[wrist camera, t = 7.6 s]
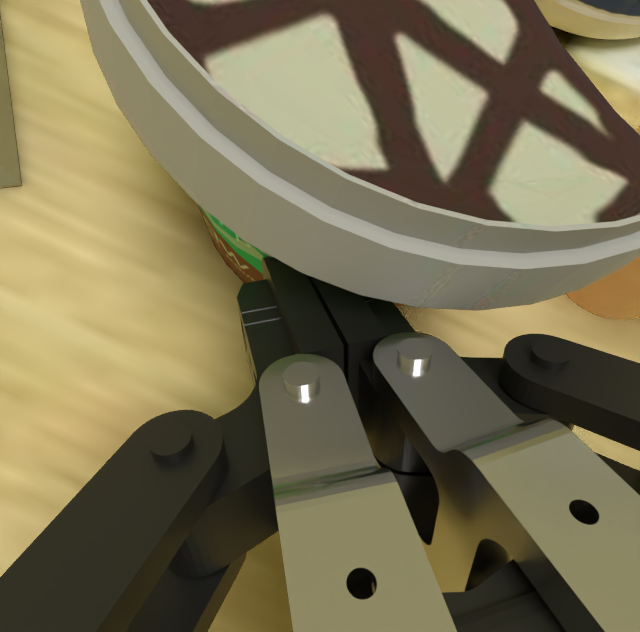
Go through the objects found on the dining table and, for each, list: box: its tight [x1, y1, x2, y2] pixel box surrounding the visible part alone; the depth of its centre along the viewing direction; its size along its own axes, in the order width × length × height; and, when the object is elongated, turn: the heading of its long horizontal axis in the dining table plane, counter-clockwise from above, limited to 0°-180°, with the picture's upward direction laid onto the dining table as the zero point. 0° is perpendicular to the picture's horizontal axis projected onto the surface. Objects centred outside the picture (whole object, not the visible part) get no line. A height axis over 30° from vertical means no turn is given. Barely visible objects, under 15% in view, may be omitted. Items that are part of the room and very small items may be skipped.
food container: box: [80, 0, 640, 311], centre depth 11 cm, size 12×6×10 cm, turn 39°
